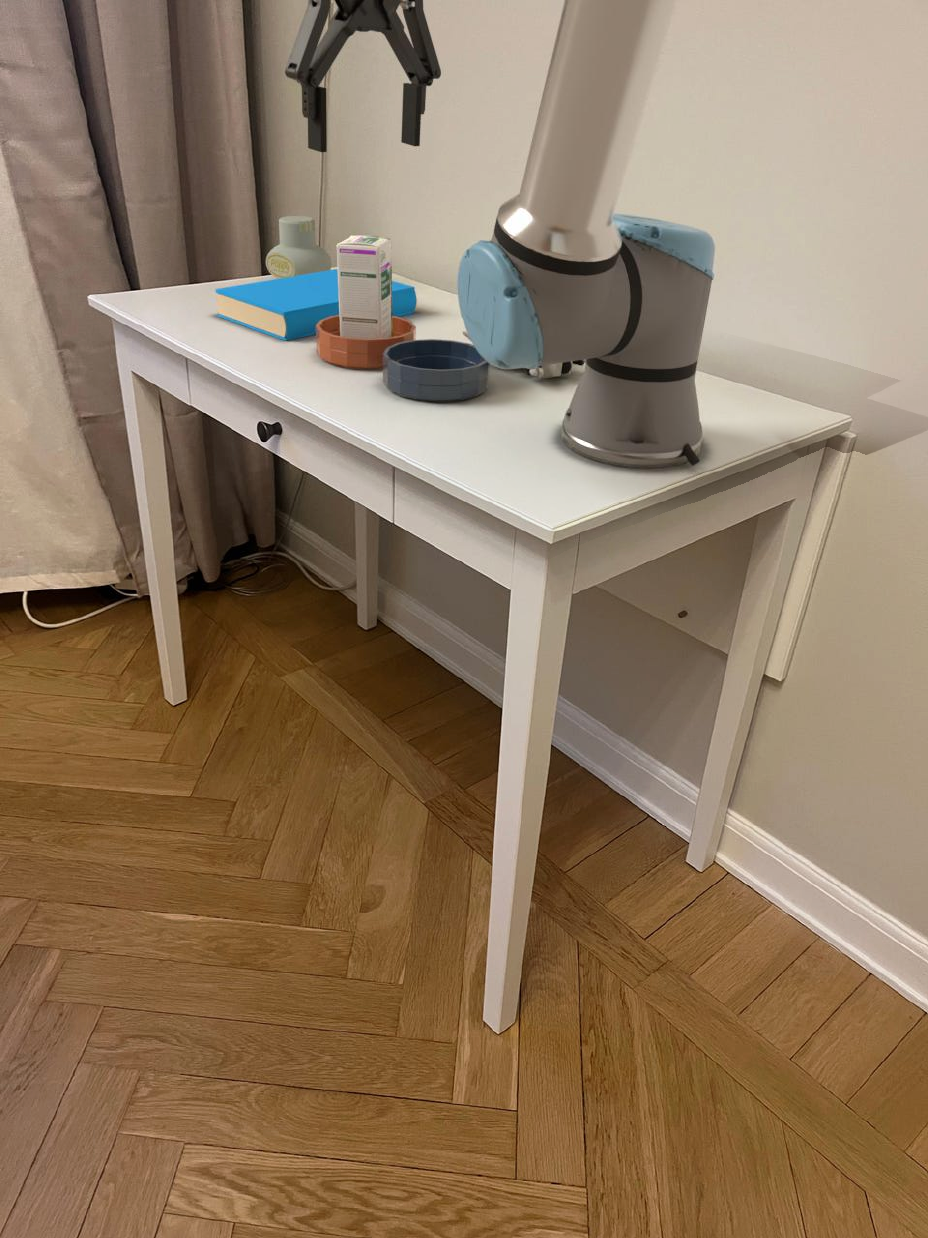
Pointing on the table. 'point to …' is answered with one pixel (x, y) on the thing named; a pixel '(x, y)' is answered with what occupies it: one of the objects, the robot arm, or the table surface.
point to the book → (295, 303)
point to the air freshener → (297, 249)
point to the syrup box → (365, 287)
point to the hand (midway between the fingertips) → (365, 147)
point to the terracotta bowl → (358, 344)
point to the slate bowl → (435, 370)
